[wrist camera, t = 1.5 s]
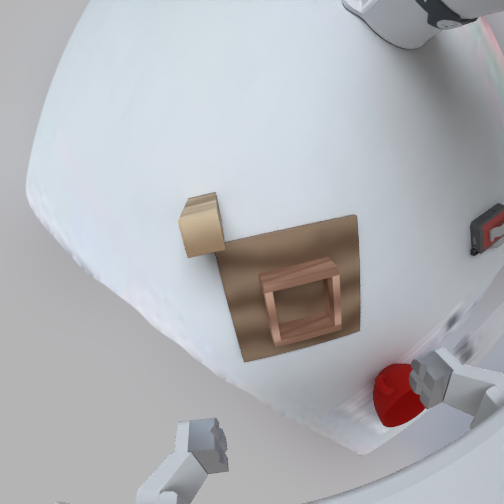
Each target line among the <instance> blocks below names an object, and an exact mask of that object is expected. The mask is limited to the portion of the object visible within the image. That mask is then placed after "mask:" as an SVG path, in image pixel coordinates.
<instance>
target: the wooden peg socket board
mask: <svg viewBox="0 0 504 504" xmlns="http://www.w3.org/2000/svg"><path fill="white" fill-rule="evenodd" d="M225 249H226V250H222V251H217V252H215V255H216V259H217V263H218V267H219V271H220V275H221V278H222V282H223V286H224V290H225V294H226V298H227V301H228V305H229V309H230V313H231V316H232V320H233V324H234V327H235V331H236V335H237V338H238V342H239V345H240V349H241V353H242V356H243V360H244V362H248V361H252V360H257V359H261V358H266V357H270V356H274V355H278V354H282V353H286V352H290V351H294V350H297V349H301V348H305V347H309V346H312V345H316V344H319V343H323V342H326V341H329V340H333V339H336V338H339V337H342V336H346V335H349V334H352V333H355V332H358V331H360V257H359V237H358V222H357V216H356V215H349V216H344V217H340V218H335V219H330V220H325V221H320V222H316V223H311V224H306V225H302V226H297V227H292V228H288V229H283V230H278V231H274V232H269V233H264V234H260V235H255V236H251V237H246V238H242V239H237V240H233V241H228V242H225Z"/></svg>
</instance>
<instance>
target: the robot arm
mask: <svg viewBox="0 0 504 504" xmlns="http://www.w3.org/2000/svg"><path fill="white" fill-rule="evenodd" d="M343 4H344V6H345V7H346V8H347V9H348V10H350V11H351V12H353V13H355V14H356V15H358V16H360V17H361V18H362V19H364V20H365V21H366V23H367V24H368V25H369V26H370V27H371V28H372V29H373V30H374V31H375V32H376V33H377V34H379V35H380V36H381V37H382V38H384V39H385V40H387V41H388V42H390V43H392V44H394V45H396V46H399V47H401V48H406V49H416V48H419V47H421V46H422V45H424V44H425V42H426V41H427V40H428V39H430V38H431V37H432V36H434V35H435V34H437V33H439V32H440V31H442V30H447V29H453V28H457V27H460V26H462V25H465V24H468V23H471V22H474V21H476V20H477V19H478V17H481V16H485V15H489V14H493V13H497V12H501V11H504V0H343ZM411 367H412V368H413V370H412V372H411V373H410V376H409V382H410V386H411V388H412V390H413V391H414V393H416V394H419V395H420V401H421V402H422V403H423V405H424V406H425V407H426V409H429V408H431V407H433V406H435V405H437V404H439V403H441V402H443V403H445V404H448V405H450V406H452V407H454V408H456V409H459V410H461V411H463V412H465V413H468V414H470V415H472V416H475V417H474V419H473V421H472V423H471V425H470V428H471V430H470V431H469V432H467V433H465V434H464V435H462V436H461V437H459V438H458V439H456V440H454V441H453V442H451V443H450V444H448V445H446V446H445V447H443V448H441V449H440V450H438V451H436V452H434V453H432V454H431V455H429V456H427V457H425V458H423V459H421V460H420V461H417V462H415V463H413V464H411V465H409V466H407V467H405V468H403V469H401V470H399V471H397V472H395V473H392V474H390V475H388V476H386V477H383V478H381V479H378V480H376V481H373V482H371V483H368V484H365V485H363V486H360V487H357V488H355V489H352V490H349V491H346V492H343V493H340V494H336V495H333V496H330V497H326V498H323V499H319V500H315V501H312V502H308V503H304V504H504V373H500V372H495V371H491V370H487V369H482V368H478V367H474V366H470V365H466V364H465V365H462V364H461V363H460V362H459V361H458V360H457V359H456V358H455V357H454V356H453V355H452V354H451V353H450V352H449V351H448V350H446V349H445V348H444V347H442V346H440V347H439V348H436V349H434V350H432V351H430V352H428V353H426V354H424V355H422V356H420V357H417V358H415V359H413V361H412V363H411ZM226 451H227V442H226V437H225V434H224V432H223V430H222V429H221V428H219V422H218V420H217V418H209V419H200V420H191V421H181V422H179V423H178V425H177V432H176V440H175V450H174V453H171V454H170V455H169V456H168V457H167V458H166V459H165V461H164V462H163V463H162V464H161V465H160V466H159V467H158V468H157V469H156V471H155V472H154V473H153V474H152V475H151V476H150V477H149V478H148V479H147V480H146V481H145V482H144V484H143V485H142V486H141V487H140V488H139V489H138V492H137V497H136V504H190V503H191V502H192V500H193V498H194V497H195V495H196V494H197V492H198V490H199V489H200V487H201V486H202V484H203V482H204V481H205V479H206V478H207V476H208V474H212V473H219V472H227V471H229V470H228V458H227V456H226V454H225V452H226ZM54 504H69V503H65V502H56V503H54Z"/></svg>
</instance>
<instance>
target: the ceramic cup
mask: <svg viewBox="0 0 504 504" xmlns="http://www.w3.org/2000/svg"><path fill="white" fill-rule="evenodd" d="M412 370H413V368H412V367H411V365H410V364H392V365H390V366H388V367H386V368H385V369H383V370H382V371H381V372H380V373H379V375H378V376H377V378H376V379H375V385H374V390H373V401H374V406H375V409H376V412H377V414H378V416H379V419H380V421H381V422H382V424H383V425H384V426H386V427H396V426H399V425H402V424H404V423H406V422H408V421H410V420H411V419H413V418H414V417H416V416H417V415H418V414H420V413H421V412H422V411H423V410H424V409H425V408H426V407H425V406H424V405H423V403H422V402H421V401H420V395H419V394H416V393H414V391H413V390H412V388H411V386H410V382H409V376H410V373H411V372H412Z"/></svg>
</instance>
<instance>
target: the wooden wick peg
mask: <svg viewBox="0 0 504 504" xmlns="http://www.w3.org/2000/svg"><path fill="white" fill-rule="evenodd" d="M178 224H179V228H180V231H181V235H182V239H183V242H184V246H185V250H186V253H187V257H188V258H191V257H195V256H199V255H204V254H208V253H213V252H217V251H222V250H226V249H225V242H224V235H223V228H222V220H221V215H220V211H219V206H218V202H217V197H216V192H214V193H209V194H205V195H201V196H196V197H192V198H188V200H187V203H186V205H185V207H184V209H183V211H182V213H181V216H180V218H179V220H178Z"/></svg>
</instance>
